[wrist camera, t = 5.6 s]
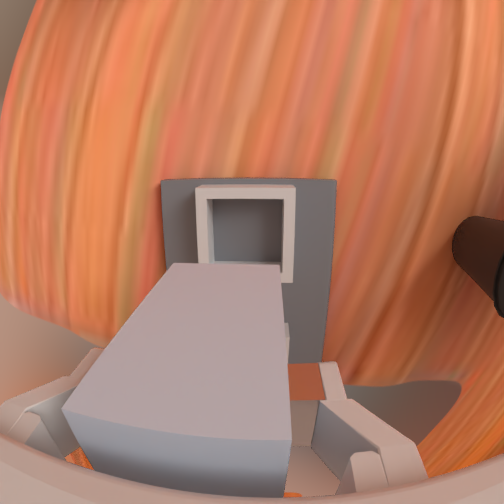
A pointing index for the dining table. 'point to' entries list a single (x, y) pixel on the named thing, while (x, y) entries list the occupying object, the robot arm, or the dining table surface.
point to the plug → (194, 386)
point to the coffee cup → (482, 255)
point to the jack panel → (261, 240)
